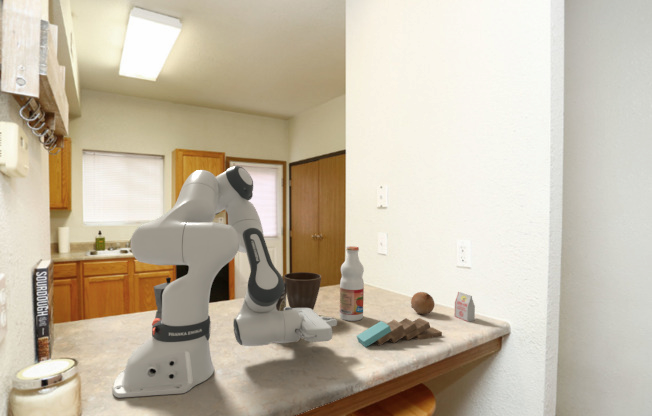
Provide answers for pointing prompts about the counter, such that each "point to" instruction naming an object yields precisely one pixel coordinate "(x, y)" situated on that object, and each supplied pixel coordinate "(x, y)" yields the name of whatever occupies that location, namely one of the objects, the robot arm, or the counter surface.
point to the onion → (422, 303)
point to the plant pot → (302, 289)
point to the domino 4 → (429, 334)
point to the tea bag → (464, 307)
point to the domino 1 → (395, 329)
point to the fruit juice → (351, 286)
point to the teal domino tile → (373, 333)
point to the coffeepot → (160, 297)
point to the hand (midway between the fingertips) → (335, 321)
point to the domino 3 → (421, 327)
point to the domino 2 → (407, 326)
